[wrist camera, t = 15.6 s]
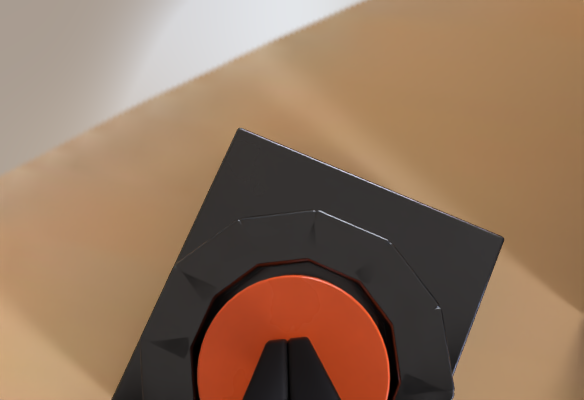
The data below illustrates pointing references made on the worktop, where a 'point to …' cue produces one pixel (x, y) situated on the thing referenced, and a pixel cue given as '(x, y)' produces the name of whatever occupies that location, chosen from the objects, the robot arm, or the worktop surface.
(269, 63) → the worktop surface
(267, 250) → the red push button box
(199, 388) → the button
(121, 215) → the worktop surface
